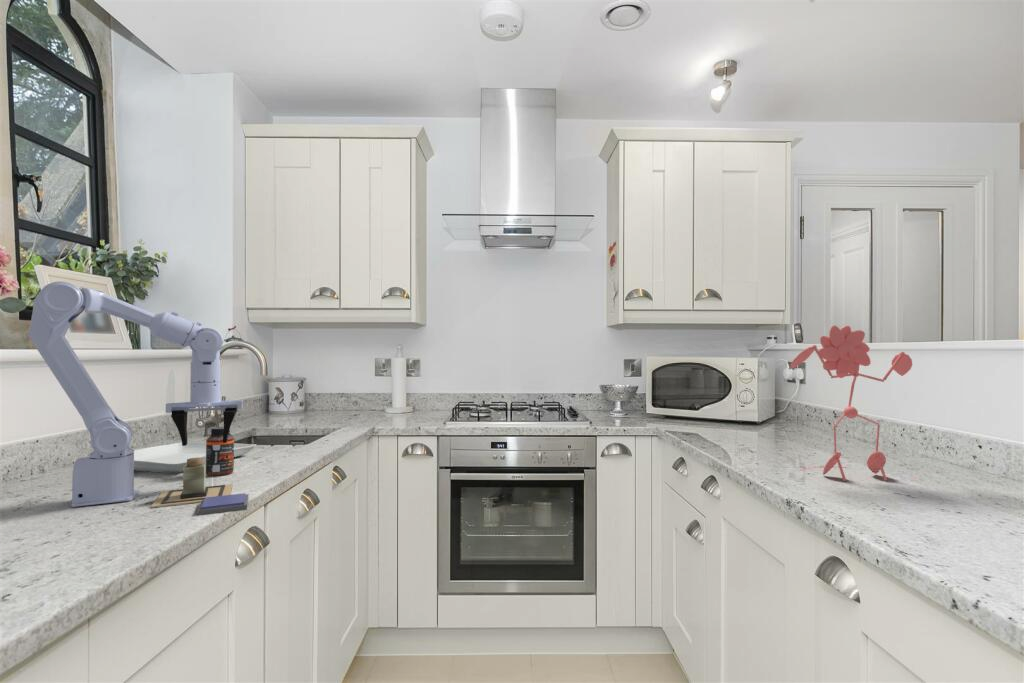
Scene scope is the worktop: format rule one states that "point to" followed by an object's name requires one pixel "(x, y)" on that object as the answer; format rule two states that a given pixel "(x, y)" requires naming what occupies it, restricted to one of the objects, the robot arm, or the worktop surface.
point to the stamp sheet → (174, 498)
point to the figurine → (845, 357)
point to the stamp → (194, 479)
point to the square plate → (176, 456)
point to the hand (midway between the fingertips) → (205, 443)
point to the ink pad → (223, 503)
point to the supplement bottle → (219, 453)
